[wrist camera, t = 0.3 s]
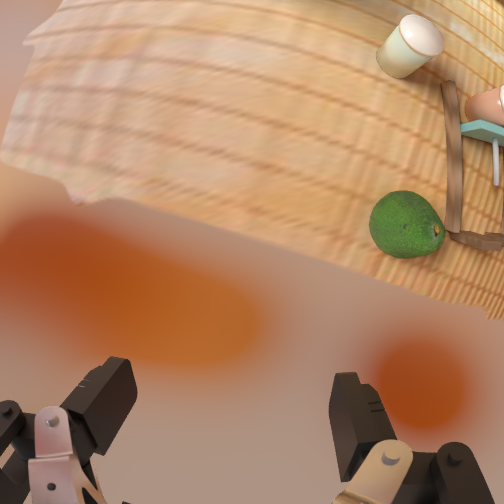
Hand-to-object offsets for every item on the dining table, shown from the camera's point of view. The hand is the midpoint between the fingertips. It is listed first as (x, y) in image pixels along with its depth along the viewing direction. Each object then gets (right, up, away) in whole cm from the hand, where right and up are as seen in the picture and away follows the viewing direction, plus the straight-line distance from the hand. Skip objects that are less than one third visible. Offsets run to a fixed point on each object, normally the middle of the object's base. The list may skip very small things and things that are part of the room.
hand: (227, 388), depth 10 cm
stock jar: (+36, +27, +20) cm, 49 cm away
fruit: (+19, +10, +26) cm, 33 cm away
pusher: (+36, +19, +22) cm, 46 cm away
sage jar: (+21, +32, +20) cm, 43 cm away
